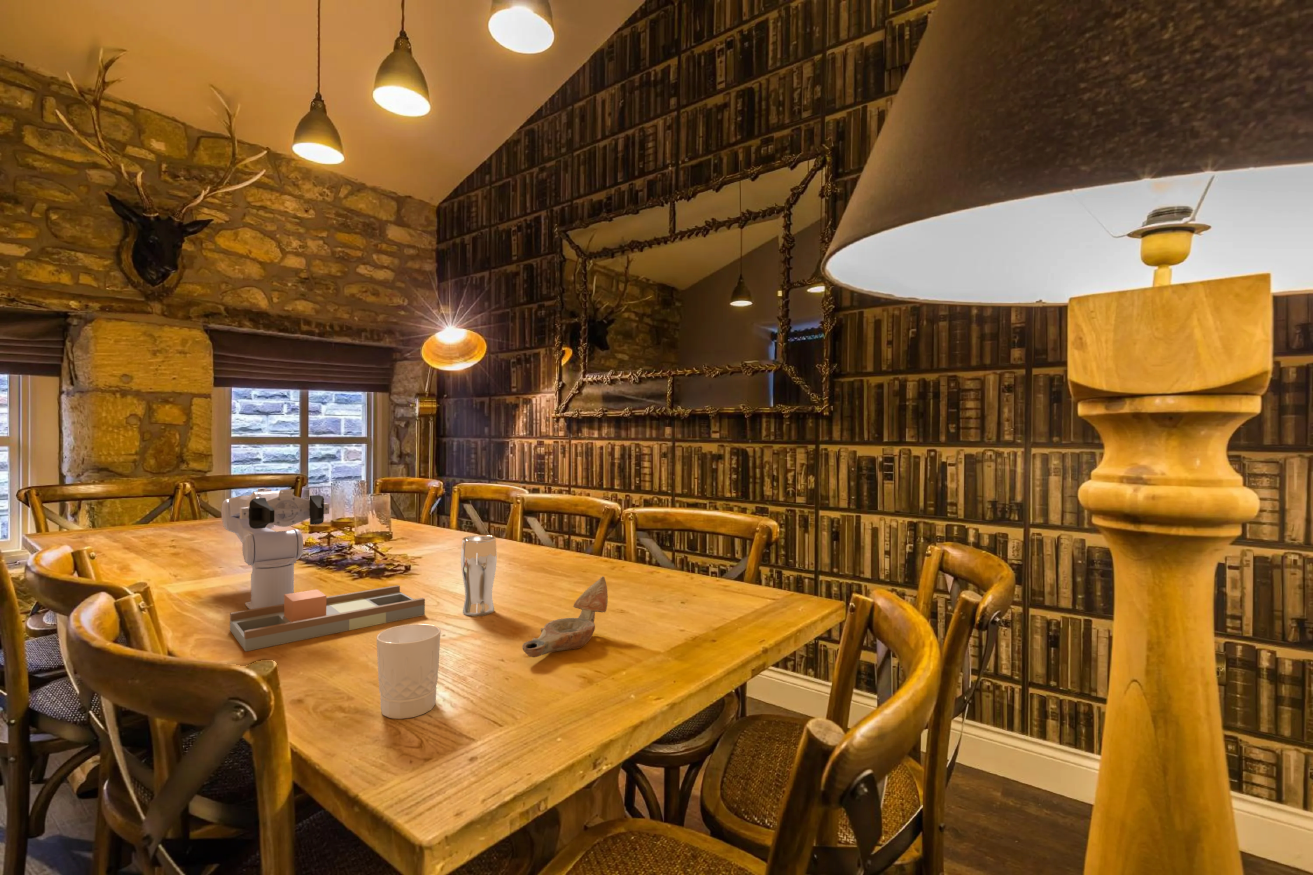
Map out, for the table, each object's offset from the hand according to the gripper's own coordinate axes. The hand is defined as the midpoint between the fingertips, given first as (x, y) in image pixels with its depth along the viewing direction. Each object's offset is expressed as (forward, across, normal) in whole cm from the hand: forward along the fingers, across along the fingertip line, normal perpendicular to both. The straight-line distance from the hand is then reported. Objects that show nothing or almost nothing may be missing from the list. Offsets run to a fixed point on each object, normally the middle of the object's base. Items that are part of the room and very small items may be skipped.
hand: (296, 514), depth 111 cm
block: (-2, +2, +19) cm, 19 cm away
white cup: (+43, +4, +22) cm, 49 cm away
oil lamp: (+38, +33, +22) cm, 55 cm away
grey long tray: (-2, +6, +21) cm, 22 cm away
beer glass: (+10, +31, +21) cm, 39 cm away
